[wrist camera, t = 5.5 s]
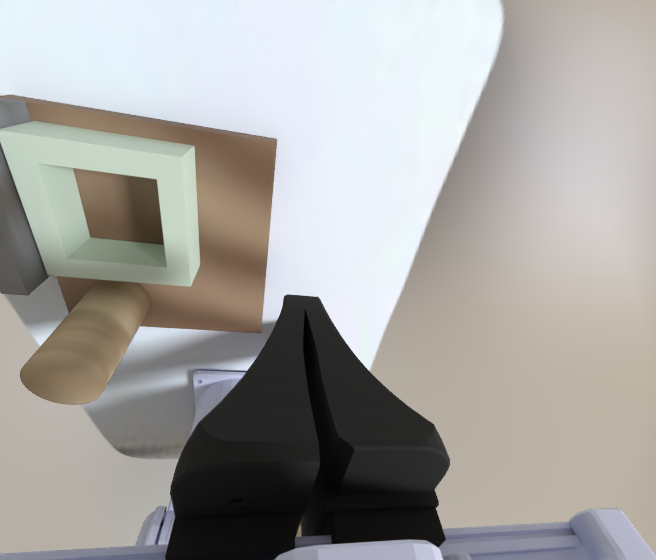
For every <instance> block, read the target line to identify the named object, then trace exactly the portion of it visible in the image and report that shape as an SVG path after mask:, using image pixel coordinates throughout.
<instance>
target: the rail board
mask: <svg viewBox="0 0 656 560" xmlns="http://www.w3.org/2000/svg"><path fill="white" fill-rule="evenodd" d="M31 121H39V122H46V123H52V124H58V125H65V126H71V127H78V128H84V129H91V130H97V131H103V132H110V133H116V134H123V135H129V136H136V137H142V138H148V139H155V140H161V141H168V142H174V143H181V144H187V145H193V146H195V166H196V186H197V207H198V228H199V249H200V266H199V269H198V271H197V273H196V276H195V278H194V280H193V282H192V285H191V287H187V286H175V285H163V284H150V283H139V284H140V285H141V286H143V287H144V288H145V289H146V291H147V292H148V294H149V296H150V298H151V306H150V309H149V310H148V312H147V314H146V316H145V318H144V319H143V321H142V323H141V325H140V326H146V327H163V328H180V329H198V330H215V331H232V332H250V333H261V325H262V314H263V302H264V290H265V278H266V266H267V254H268V242H269V230H270V218H271V206H272V194H273V182H274V170H275V158H276V146H277V139H274V138H268V137H262V136H256V135H250V134H244V133H238V132H232V131H226V130H220V129H214V128H208V127H202V126H196V125H190V124H184V123H178V122H172V121H166V120H160V119H154V118H148V117H142V116H136V115H130V114H124V113H118V112H111V111H105V110H99V109H93V108H87V107H81V106H75V105H69V104H63V103H57V102H51V101H45V100H39V99H33V98H27V97H21V96H15V95H5V96H0V129H1V128H6V127H10V126H14V125H18V124H23V123H27V122H31ZM73 170H74V174H75V178H76V182H77V186H78V190H79V194H80V198H81V202H82V206H83V210H84V214H85V218H86V222H87V226H88V230H89V234H90V237H91V238H100V239H110V240H120V241H130V242H140V243H150V244H160V245H164V238H163V230H162V221H161V212H160V203H159V195H158V186H157V179H151V178H144V177H136V176H129V175H122V174H114V173H107V172H99V171H92V170H84V169H77V168H73ZM49 276H50V275H47V272H46V269H45V266H44V263H43V261H42V258H41V255H40V252H39V249H38V247H37V244H36V241H35V238H34V235H33V233H32V230H31V227H30V224H29V221H28V219H27V216H26V213H25V210H24V207H23V205H22V202H21V199H20V196H19V193H18V191H17V188H16V185H15V182H14V179H13V177H12V174H11V171H10V168H9V165H8V163H7V160H6V157H5V154H4V151H3V149H2V146H1V143H0V292H1V293H3V294H17V295H29V294H30V293H31V292H32V291H34V290H35V289H36V288H37V287H38V286H39V285H40V284H41V283H42V282H43V281H45V280H46V279H47V278H48V277H49ZM57 279H58V282H59V284H60V287H61V290H62V293H63V296H64V299H65V302H66V305H67V308H68V311H69V313H70V312H71V311H72V310H73V308H74V307H75V306H76V305H77V304H78V303H79V302H80V300H81V299H82V298H83V297H84V296H85V295H86V293H87V292H88V291H89V290H90V289H91V288H92V287H93V285H94V284H95V283H96V282H97V281H98V280H100V279H88V278H75V277H63V276H57ZM137 283H138V282H137Z"/></svg>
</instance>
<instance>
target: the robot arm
mask: <svg viewBox="0 0 656 560" xmlns="http://www.w3.org/2000/svg"><path fill="white" fill-rule="evenodd" d="M193 387H194V399H195V412H196V414H195V418H194V422H193V426H192V429H191V433H190V437H189V439H188V441H187V443H186V445H185V447H184V449H183V451H182V453H181V456H180V458H179V461H178V463H177V466H176V469H175V473H174V477H173V481H172V484H171V491H170V495H171V499H170V503H169V507H168V511H167V512H166V508H167V507H166V506H158V507H157V508H156V509H155V511H154V512H152V513H151V514H150V515H149V516H147V517H146V519H145V521H144V523H143V526H142V528H141V531H140V533H139V536H138V539H137V542H136V545H135V546H127V547H109V548H92V549H75V550H56V551H39V552H22V553H3V554H0V560H656V556H655V554H654V553H653V552H652V550H651V549H650V548H649V546H648V545H647V544H646V542H645V541H644V540H643V538H642V537H641V536H640V534H639V533H638V532H637V530H636V529H635V528H634V526H633V525H632V523H631V522H630V521H629V519H628V518H627V517H626V516H625V514H624V513H623V511H622V510H621V509H618V508H603V509H588V510H584V511H582V512H579V513H577V514H576V515H574V516H573V517H572V518H571V519H570V520H569V522H554V523H537V524H520V525H503V526H483V527H465V528H449V529H442V526H441V523H440V520H439V517H438V514H437V511H436V508H435V507H437V506H438V505H439V504H438V502H439V501H438V499H437V496H436V493H435V490H434V489H435V488H436V486H437V485H438V484H439V482H440V481H441V480H442V478H443V477H444V476H445V474H446V472H447V470H448V468H449V466H450V459H449V456H448V454H447V451H446V449H445V446H444V444H443V442H442V439H441V437H440V436H439V434H438V432H437V430H436V428H435V426H434V424H432V423H431V422H430V421H428V420H427V419H425V418H424V417H422V416H421V415H420V414H418V413H417V412H415V411H414V410H412V409H411V408H410V407H408V406H407V405H406V404H405V403H404V402H402V401H401V400H399V398H397V397H396V396H395V395H393V393H391V392H390V391H389V390H388V389H387V388H386V387H385V386H383V384H382V383H380V382H379V381H378V380H377V379H376V378H375V377H374V376H373V375H372V374H371V373H370V372H369V371H368V369H367V368H366V367H365V366H364V365H363V364H362V363H361V362H360V360H359V359H358V358H357V357H356V356H355V354H354V353H353V352H352V350H351V349H350V348H349V346H348V345H347V344H346V342H345V341H344V339H343V338H342V336H341V335H340V333H339V332H338V330H337V329H336V327H335V326H334V324H333V322H332V321H331V319H330V317H329V315H328V314H327V312H326V310H325V308H324V306H323V304H322V302H321V300H320V299H319V297H311V296H299V295H286V296H284V301H283V307H282V310H281V313H280V316H279V318H278V320H277V323H276V325H275V327H274V329H273V331H272V333H271V335H270V337H269V339H268V340H267V342H266V344H265V346H264V347H263V349H262V351H261V352H260V354H259V355H258V357H257V358H256V360H255V361H254V363H253V364H252V365H251V367H250V368H249V369H248V371H247V372H223V371H196V372H194V374H193ZM301 519H302V525H301V537H296V535H297V532H298V528H299V525H300V522H301Z"/></svg>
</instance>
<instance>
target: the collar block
mask: <svg viewBox="0 0 656 560" xmlns="http://www.w3.org/2000/svg"><path fill="white" fill-rule="evenodd" d="M0 143H1V146H2V149H3V151H4V154H5V157H6V160H7V163H8V165H9V168H10V171H11V174H12V177H13V179H14V182H15V185H16V188H17V191H18V193H19V196H20V199H21V202H22V205H23V207H24V210H25V213H26V216H27V219H28V221H29V224H30V227H31V230H32V233H33V235H34V238H35V241H36V244H37V247H38V249H39V252H40V255H41V258H42V261H43V263H44V266H45V269H46V272H47V275H50V276H63V277H75V278H88V279H100V280H113V281H125V282H138V283H150V284H163V285H175V286H187V287H191V285H192V282H193V280H194V278H195V276H196V273H197V271H198V269H199V266H200V249H199V228H198V207H197V186H196V166H195V146H193V145H187V144H181V143H174V142H168V141H161V140H155V139H148V138H142V137H136V136H129V135H123V134H116V133H110V132H103V131H97V130H91V129H84V128H78V127H71V126H65V125H58V124H52V123H46V122H39V121H31V122H27V123H23V124H18V125H14V126H10V127H6V128H1V129H0ZM73 168H77V169H84V170H92V171H99V172H107V173H114V174H122V175H129V176H136V177H144V178H151V179H157V186H158V195H159V203H160V212H161V221H162V230H163V238H164V245H160V244H150V243H140V242H130V241H120V240H110V239H100V238H91V237H90V234H89V230H88V226H87V222H86V218H85V214H84V210H83V206H82V202H81V198H80V194H79V190H78V186H77V182H76V178H75V174H74V170H73Z"/></svg>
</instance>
